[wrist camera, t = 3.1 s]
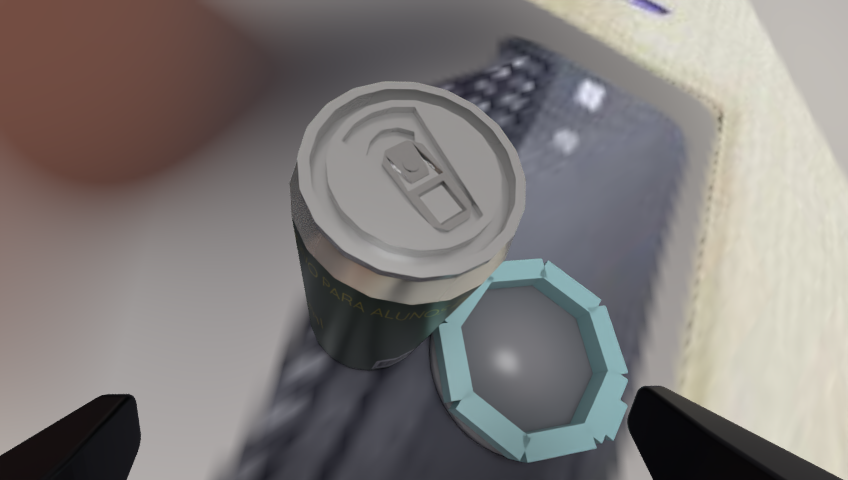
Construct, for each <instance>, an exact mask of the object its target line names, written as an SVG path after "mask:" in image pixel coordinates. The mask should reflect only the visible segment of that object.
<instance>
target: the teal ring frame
mask: <svg viewBox="0 0 848 480" xmlns="http://www.w3.org/2000/svg"><path fill="white" fill-rule="evenodd" d="M600 301H601V299H600V298H598V297H597V296H595V295H594V294H593V293H591V292H590V291H589V290H587V289H586V288H585V287H583V286H582V285H581V284H579V283H578V282H577V281H575V280H574V279H573V278H571V277H570V276H568V275H567V274H566V273H564V272H563V271H562V270H560V269H559V268H558V267H556V266H555V265H554V264H552V263H551V262H550V261H547V262H546V263H544V264H543V260H542V259H528V260H514V261H503V262H502V264H501V265H500V266H499V267H498V268H497V269H496V270H495V271H494V272H493V273H492V274H491V275H490V276H489V277H488V278H487V279H486V281H485V282H484V283H483V284H482V285H481V286H480V287H479V288H478V289H477V290H475V291H474V292H473V293H472V294H471V295H470V296H469V297H468V298H467V299H466V300H465V301H464V302H463V303H462V304H461V305H460V306H459V307H458V308H457V309H456V310H455V311H454V312H453V313H452V314H451V315H450V316H448V317H447V318H446V319H445V320H444V321H443V322H442V323H441V324H440V325H439V326H438V327H437V328H436V329H435V330H434V331H433V332H432V333H431V339H430V364H431V371H432V375H433V380H434V383H435V386H436V389H437V392H438V394H439V396H440V398H441V401H442V403H443V405H444V407H445V408H446V410H447V411H448V413H449V414H450V416H451V417H452V419H453V420H454V421H455V422H456V423H457V425H458V426H459V427H460V428H461V429H462V430H463V431H464V432H465V433H466V434H467V435H468V436H469V437H470V438H471V439H473V440H474V441H476V442H477V443H479V444H480V445H481V446H483V447H485V448H487V449H489V450H491V451H492V452H494V453H497V454H500V455H503V456H505V457H507V458H508V459H512V460H515V461H520V462H526V463H529V462H534V461H539V460H546V459H552V458H555V457H559V456H562V455H567V454H572V453H577V452H581V451H586V450H591V449H595V448H596V444H595V443H601V444H602V442H603V440H604V439H606V440H611V441H614V438H615V436H616V433H617V431H618V428H619V426H620V423H621V421H622V418H623V416H624V413H625V411H626V408H627V406H628V405H626V404H625V403H624V402H622V401H621V400H620V399H621V396H622V394H623V392H624V389H625V387H626V384H627V382H628V380H627V379H626V378H625V377H623V376H622V375H621V374H625V373H628V371H627V368H626V365H625V362H624V359H623V356H622V353H621V350H620V347H619V344H618V341H617V338H616V335H615V332H614V329H613V326H612V323H611V320H610V317H609V314H608V312H607V309H606V306H598V305H599V303H600Z"/></svg>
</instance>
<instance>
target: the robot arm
mask: <svg viewBox="0 0 848 480" xmlns="http://www.w3.org/2000/svg"><path fill="white" fill-rule="evenodd" d="M627 424H628V429H629V432H630V434H631V436H632V438H633V440H634V442H635V444H636V446H637V448H638V450H639V452H640V454H641V456H642V458H643V460H644V462H645V464H646V466H647V468H648V470H649V472H650V474H651V476H652V478H653V480H843V479H841V478H839V477H837V476H835V475H833V474H831V473H829V472H827V471H825V470H823V469H822V468H820V467H818V466H816V465H814V464H812V463H810V462H808V461H806V460H804V459H802V458H800V457H798V456H796V455H794V454H793V453H791V452H789V451H787V450H785V449H783V448H781V447H779V446H777V445H775V444H773V443H771V442H769V441H767V440H766V439H764V438H762V437H760V436H758V435H756V434H754V433H752V432H750V431H748V430H746V429H744V428H742V427H740V426H738V425H737V424H735V423H733V422H731V421H729V420H727V419H725V418H723V417H721V416H719V415H717V414H715V413H713V412H711V411H710V410H708V409H706V408H704V407H702V406H700V405H698V404H696V403H694V402H692V401H690V400H688V399H686V398H684V397H682V396H681V395H679V394H677V393H675V392H673V391H671V390H669V389H667V388H665V387H662V386H643V387H641V388H640V389H639V390H638V391H637V394H636V396H635V399H634V402H633V404H632V407H631V410H630V412H629V415H628V419H627ZM140 440H141V432H140V426H139V418H138V411H137V404H136V400H135V398H134V396H132V395H130V394H107V395H101V396H99V397H97V398H95V399H94V400H92V401H91V402H89V403H87V404H85V405H84V406H82V407H80V408H79V409H77V410H75V411H74V412H72V413H70V414H69V415H67V416H65V417H64V418H62V419H60V420H59V421H57V422H55V423H54V424H52V425H50V426H49V427H47V428H45V429H44V430H42V431H40V432H39V433H37V434H35V435H34V436H32V437H31V438H29V439H27V440H26V441H24V442H22V443H21V444H19V445H17V446H16V447H14V448H12V449H11V450H9V451H7V452H6V453H4V454H2V455H1V456H0V480H127V477H128V475H129V472H130V470H131V467H132V465H133V462H134V460H135V457H136V455H137V452H138V449H139V446H140Z"/></svg>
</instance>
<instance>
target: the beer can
mask: <svg viewBox="0 0 848 480" xmlns="http://www.w3.org/2000/svg"><path fill="white" fill-rule="evenodd" d="M525 182H526V179H525V175H524V172H523V169H522V166H521V163H520V160H519V157H518V154H517V151H516V149H515V148H514V147H513V145H512V144H511V142H510V141H509V139H508V138H507V136H506V135H505V134H504V132H503V131H502V129H501V128H500V126H499V125H498V124H497V123H495V122H494V121H493V120H492V119H491V118H490V117H489V116H487V115H486V114H485V113H484V112H483V111H482V110H480V109H479V108H478V107H477V106H476V105H474V104H472V103H470V102H468V101H467V100H465V99H463V98H461V97H459V96H457V95H455V94H453V93H451V92H449V91H447V90H444V89H440V88H436V87H433V86H429V85H425V84H421V83H417V82H388V81H386V82H385V81H383V82H379V83H375V84H370V85H366V86H362V87H358V88H354V89H351V90H350V91H348V92H346V93H345V94H343V95H341V96H340V97H338V98H336V99H334V100H333V101H331V102H329V103H327V104H326V105H325V106H324V107H323V109H322V110H321V111H320V112H319V113H318V115H317V116H316V117H315V118H314V119H313V120H312V122H311V123H310V124H309V125H308V126H307V128H306V131H305V134H304V137H303V140H302V143H301V146H300V149H299V152H298V155H297V162H296V165H295V168H294V171H293V174H292V177H291V180H290V198H291V213H292V221H293V227H294V232H295V237H296V243H297V249H298V254H299V260H300V266H301V271H302V277H303V282H304V288H305V294H306V299H307V305H308V310H309V316H310V321H311V327H312V329H313V331H314V333H315V336H316V338H317V340H318V343H319V344H320V345H321V347H322V348H323V349H324V350H325V351H326V352H327V353H328V354H329V355H330V356H331V357H332V358H333V359H335V360H337V361H339V362H341V363H342V364H344V365H346V366H348V367H351V368H357V369H363V370H375V369H381V368H387V367H390V366H391V365H393V364H395V363H397V362H399V361H401V360H403V359H405V358H406V357H407V356H408V355H409V354H410V353H411V352H412V351H413V350H414V349H415V348H416V347H417V346H418V345H419V344H420V343H421V342H423V341H424V340H425V339H426V338H427V337H428V336H429V335H430V334H431V333H432V332H433V331H434V330H435V329H436V328H437V327H438V326H439V325H440V324H441V323H442V322H443V321H444V320H445V319H446V318H447V317H448V316H450V315H451V314H452V313H453V312H454V311H455V310H456V309H457V308H458V307H459V306H460V305H461V304H462V303H463V302H464V301H465V300H466V299H467V298H468V297H469V296H470V295H471V294H472V293H473V292H474V291H475V290H477V289H478V288H479V287H480V286H481V285H482V284H483V283H484V282H485V281H486V279H487V278H488V277H489V276H490V275H491V274H492V273H493V272H494V271H495V270H496V269H497V268H498V267H499V266H500V265H501V264H502V262H503V261H504V260H505V258H506V255H507V253H508V250H509V248H510V245H511V243H512V241H513V238H514V236H515V233H516V229H517V227H518V224H519V222H520V219H521V217H522V214H523V212H524V209H525Z"/></svg>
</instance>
